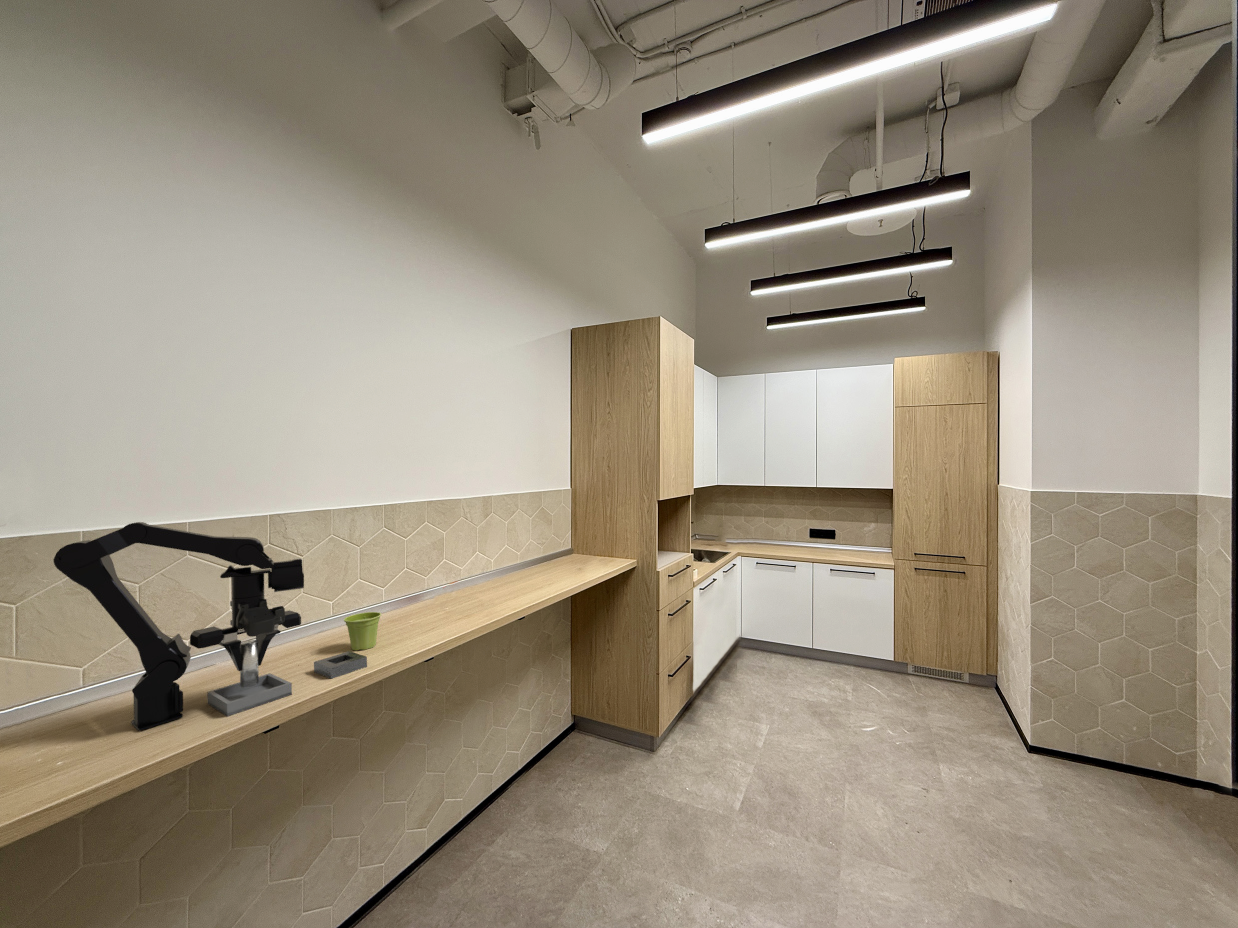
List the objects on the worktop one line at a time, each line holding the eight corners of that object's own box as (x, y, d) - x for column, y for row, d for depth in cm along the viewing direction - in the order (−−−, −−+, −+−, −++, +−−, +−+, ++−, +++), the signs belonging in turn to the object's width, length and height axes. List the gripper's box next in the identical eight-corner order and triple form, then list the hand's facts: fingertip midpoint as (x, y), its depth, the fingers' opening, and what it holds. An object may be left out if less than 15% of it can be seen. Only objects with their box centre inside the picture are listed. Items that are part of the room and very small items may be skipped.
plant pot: (356, 655, 133) (356, 622, 133) (337, 650, 138) (337, 618, 138) (388, 644, 141) (388, 613, 141) (369, 640, 146) (369, 610, 146)
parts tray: (227, 716, 99) (227, 703, 99) (207, 703, 105) (207, 691, 105) (291, 694, 108) (291, 682, 108) (269, 683, 115) (269, 672, 115)
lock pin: (243, 688, 105) (243, 645, 105) (237, 685, 106) (237, 643, 107) (261, 682, 107) (260, 641, 108) (255, 679, 109) (254, 638, 109)
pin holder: (331, 678, 116) (330, 668, 116) (314, 671, 121) (313, 661, 121) (367, 666, 123) (366, 656, 124) (349, 660, 128) (349, 650, 128)
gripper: (207, 609, 95) (208, 691, 95) (311, 590, 111) (312, 660, 110) (188, 603, 102) (189, 680, 101) (289, 585, 117) (291, 652, 116)
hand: (249, 667), depth 107 cm, fingers closed on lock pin, 3 cm apart
